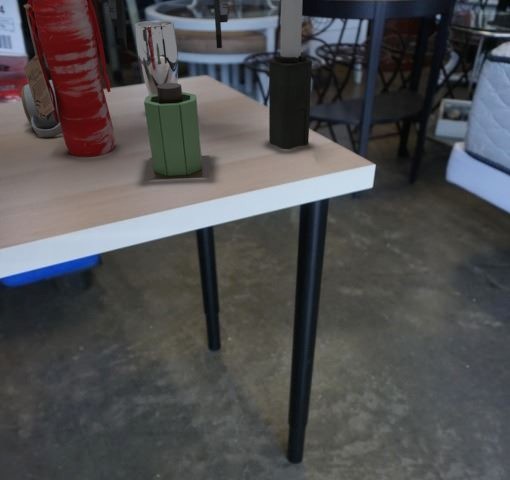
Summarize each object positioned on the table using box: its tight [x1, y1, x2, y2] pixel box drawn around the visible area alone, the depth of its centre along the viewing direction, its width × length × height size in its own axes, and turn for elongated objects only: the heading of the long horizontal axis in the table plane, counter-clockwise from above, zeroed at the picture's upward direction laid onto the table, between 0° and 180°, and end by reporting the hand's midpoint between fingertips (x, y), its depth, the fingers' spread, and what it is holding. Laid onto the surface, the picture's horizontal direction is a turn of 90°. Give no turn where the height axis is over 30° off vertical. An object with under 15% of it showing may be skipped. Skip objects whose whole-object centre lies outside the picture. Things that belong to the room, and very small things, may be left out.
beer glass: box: [134, 19, 179, 96], centre depth 96 cm, size 7×7×15 cm
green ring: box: [143, 91, 202, 176], centre depth 74 cm, size 7×7×9 cm
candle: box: [268, 0, 313, 150], centre depth 77 cm, size 5×5×25 cm
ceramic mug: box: [20, 79, 63, 138], centre depth 94 cm, size 11×8×8 cm
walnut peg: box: [144, 83, 211, 181], centre depth 74 cm, size 9×9×12 cm
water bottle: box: [23, 0, 116, 158], centre depth 76 cm, size 12×8×25 cm, turn 98°
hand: (170, 43), depth 75 cm, fingers open, 13 cm apart
